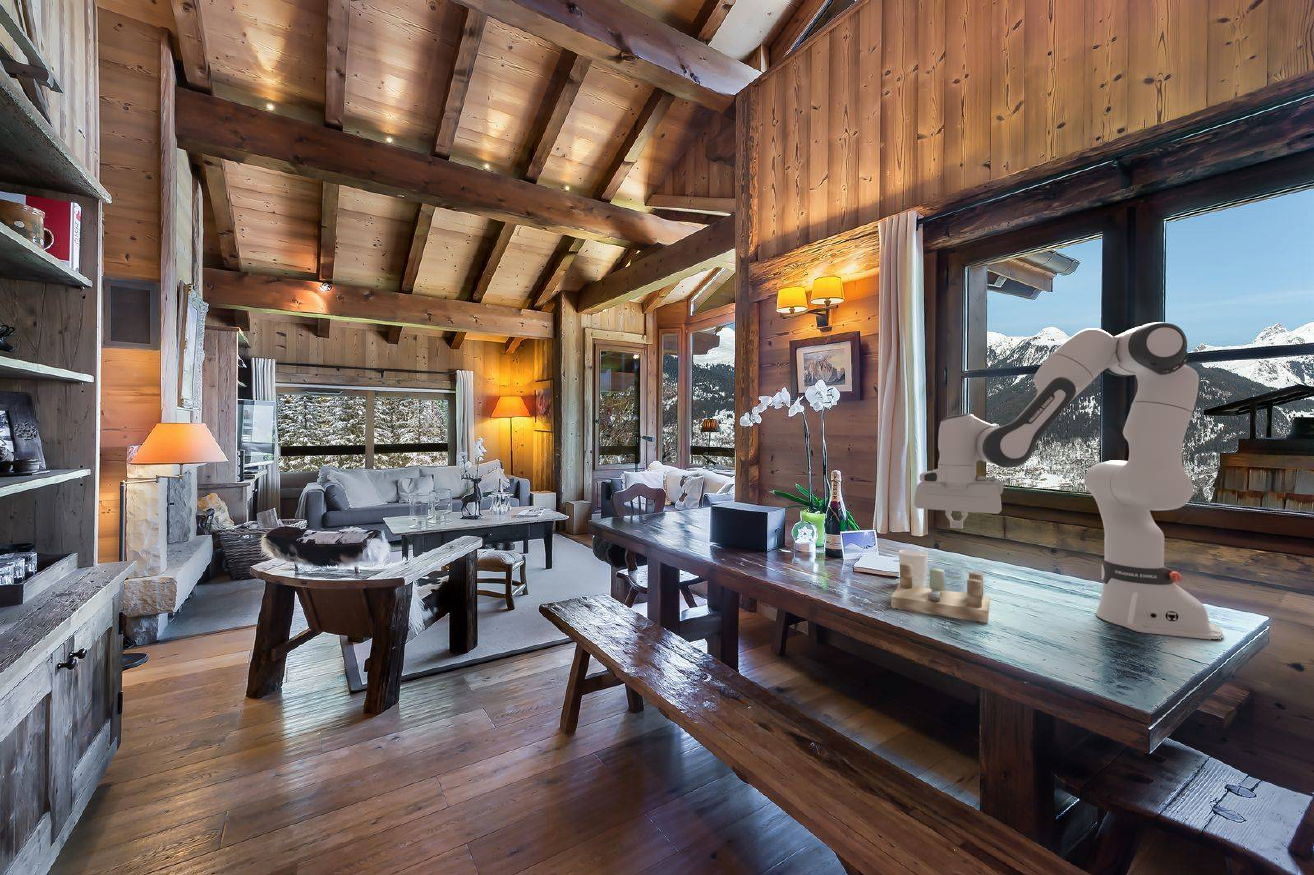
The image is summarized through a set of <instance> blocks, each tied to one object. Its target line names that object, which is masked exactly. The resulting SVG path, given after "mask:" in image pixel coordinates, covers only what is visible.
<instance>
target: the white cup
mask: <svg viewBox="0 0 1314 875" xmlns="http://www.w3.org/2000/svg"><path fill="white" fill-rule="evenodd" d="M928 556H929V555H928V552H926V551H923V550H918V549H917V550H916V549H902V550H899V551H898V557H899V558H898V561H899V562H898V563H899V566H900V564H901V563H907V564H911V565H912V586H917V587H924V588H927V587H926V586H927V584H926V583H927V582H926V581H927V573H928V572H927V571H928V559H929V557H928Z"/></svg>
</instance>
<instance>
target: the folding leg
mask: <svg viewBox="0 0 1314 875" xmlns="http://www.w3.org/2000/svg"><path fill="white" fill-rule="evenodd" d="M945 572H946V571H945V569H942V568H936V567H935V568H934V567H933V568H929V588H930V589H932V591H931V593H930V594H928V599H929V600H932V601H940V595H941V591H942V590H946V589H945V588H946V586H945V585H946V584H945V582H946V581H945V578H946V574H945Z"/></svg>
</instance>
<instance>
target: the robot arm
mask: <svg viewBox="0 0 1314 875" xmlns="http://www.w3.org/2000/svg"><path fill="white" fill-rule="evenodd" d="M1188 359H1189V354H1188V340H1187V336H1186V334H1185V332H1184V331H1183V329H1182V328H1180V327H1179V326H1178V325H1176V324H1174V323H1169V322H1163V321H1162V322H1161V321H1159V322H1151V323H1146V324H1143V325H1142V326H1136V327H1134V328H1131V329H1128V330H1126V331H1125V332H1122V333H1120V334H1118V335H1115V336H1114V335H1111V334H1110V333H1109V332H1108V331H1107V332H1106V331H1105V330H1103V329H1100V328H1091V327H1090V328H1085V329H1082V330H1080V331H1078V332H1077V333H1075V334H1074V335H1073V336H1071V337H1070V338H1069V339H1067V340H1066V341H1065V342H1064V343H1062V344H1061V345H1060V346H1059V347H1057V349H1056V350H1054V351H1053V352H1052V354H1050V355H1049V356H1048V357H1047V358H1046V359H1045V360H1044V362H1043V363H1042V364H1041V365H1040V366H1039V368H1038V369H1037V371H1036V373H1035V374H1034V376H1033V383H1034V387H1035V389H1036V391H1037V393H1036V396H1035V397H1034V398H1033V399H1032V401H1030V402H1029V404H1028V405H1026V407H1025V409H1023V411H1021V412H1020V414H1019V415H1018V416H1017V417H1016V418H1015V419H1014V420H1013V421H1011V422H1010V423H1008V424H1005V425H1002V426H998V425H997V426H996V425H995V424H991V423H989V422H986V421H984V420H981V419H980V418H978V417H976V416H975V415H974V414H972V413H961V414H953V415H948V416H946V417H944V418H943V419H942V420H941V421H940V425H939V428H938V436H937V438H938V439H937V448H938V453H939V458H938V462H937V468H936V469H934V468H933V469H930V470H927V471H923V472H921V474H920V473H919V481H920V482H919V483H918V484H917V485H916V488H915V492H914V502H913V505H914V506H915V508H917V509H921V510H922V509H923V510H935V511H945V517H946V518H947V519H948V521H949V528H950V529H961V530H962V529H963V528H964V522H965V520H966V519H967V517H968V516H969V513H980V514H981V513H982V514H995V515H996V514H997V515H998V514H1000V512H1001V511H1002V497H1001V495H1002V494H1003V491H1004V483H1003V481H1002V480H1001V479H999V478H997V477H996V476H984V475H983V476H980V475H979V476H977V463H978V461H982V462H985V463H988V464H994V465H996V466H998V467H1001V468H1004V469H1005V468H1006V469H1012V468H1016V467H1017V468H1018V467H1020V466H1022V465H1024V464H1025V463H1026V462H1027V461H1028V460H1029V459H1030V458H1031V457H1032V455H1033V452H1034V450H1035V447H1036V444H1037V442H1038V440H1039V439H1040V437H1041V436H1042V434H1043V433H1044V432H1046V430H1047V429H1048V427H1049V426H1050V425H1051V424H1052V423H1053V422H1054V421H1055V420H1056V419H1057V417H1058V416H1060V415H1061V413H1062V412H1063V411H1064V410H1065V408H1066V407H1067V406H1068V405H1069V404H1070V403H1071V402H1072V401H1073V400H1074V399H1075V398H1076V397H1077V396H1078V395H1079V394H1081V392H1082V391H1084V390H1085V389H1086V388H1087V387H1088V386H1089V385H1090V384H1091V383H1092V382H1093V381H1094V380H1095V379H1096V378H1097V377H1098V376H1099V375H1100V374H1101V373H1102V372H1106V373H1108V374H1109V375H1113V376H1117V377H1131V376H1134V375H1135V378H1136V380H1137V381H1136V382H1137V391H1136V394H1135V396H1134V398H1133V402H1132V405H1131V407H1130V409H1129V413H1128V415H1127V419H1126V421H1125V425H1124V426H1123V430H1122V435H1123V437H1124V439H1125V440H1126V441H1127V443H1128V450H1129V451H1128V452H1129V453H1128V460H1117V459H1116V460H1115V459H1114V460H1108V461H1103V462H1098V463H1096V464H1093V465H1092V466H1091V467H1090V468H1088V470H1087V472H1086V474H1085V477H1084V483H1085V486H1086V488H1087V490H1088V491H1089V493H1090V494H1091V495H1092V497H1093V498H1094V500H1095V502H1096V504H1097V507H1098V511H1099V514H1100V517H1101V520H1102V525H1103V526H1102V527H1103V533H1104V558H1103V559H1102V563H1101V580H1102V590H1101V596H1100V599H1099V603H1098V606H1097V609H1096V612H1095V616H1096V617H1098V618H1100V620H1101V619H1102V620H1104V621H1106V622H1108V623H1111V624H1115V625H1118V626H1121V627H1124V628H1127V629H1130V630H1132V631H1135V632H1139V633H1146V634H1155V635H1163V636H1171V637H1172V636H1173V637H1182V638H1192V639H1194V638H1195V639H1200V640H1201V639H1203V640H1211V639H1220V638H1222V636H1223V637H1224V635H1223V631H1222V629H1221V628H1220V627H1219V626H1217V625H1216V624H1214V623H1212V622H1210V619H1209V615H1208V612H1207V609H1206V607H1205V606H1204V604H1203V603H1202V602H1201V601H1199V599H1197V597H1195V596H1193V595H1192V594H1190V593H1189V592H1188V591H1186V590H1185V589H1183V588H1182V587H1180V585H1177V584H1176V583H1175V582H1181V580H1182V579H1183V577H1182V575H1181V574H1180V573H1179V572H1178V571H1175V570H1173V569H1171V568H1169V567H1167V566H1166V565H1165V534H1164V532H1163V530H1162V529H1161V528H1160V527H1159V526H1158V525H1157V524H1156V522H1155V520H1154V518H1153V516H1152V513H1151V511H1170V510H1177V509H1181V508H1182V507H1184V506H1186V504H1188V503H1189V502H1190V500H1191V498H1192V496H1193V493H1194V486H1193V485H1194V484H1193V482H1192V480H1191V478H1190V476H1189V475H1188V473H1186V471H1185V468H1184V466H1183V457H1182V452H1183V451H1182V450H1183V449H1182V448H1183V442H1184V439H1185V436H1186V432H1187V430H1188V426H1189V422H1190V421H1191V418H1192V414H1193V412H1194V409H1195V406H1196V402H1197V397H1198V393H1199V392H1198V391H1199V386H1200V376H1199V374H1198V372H1197V370H1195V369H1194V368H1193V367H1191V366H1189V365H1186V363H1187V361H1188ZM953 512H960V513H961V516H962V518H961V519H960V520H955V519H954V518H953V517H952V513H953ZM1222 639H1223V638H1222ZM1220 640H1221V639H1220Z"/></svg>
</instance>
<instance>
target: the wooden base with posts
mask: <svg viewBox="0 0 1314 875" xmlns="http://www.w3.org/2000/svg"><path fill="white" fill-rule="evenodd" d="M966 581H967V582H966V587H967V588H966V590H967V591H966V592H960V591H955V590H952V591H951V590H947V589H945V590H942V591H941V595H940V601H932V600H929V599H928V594H930V593H931V591H932V589H930V587H917V586H912V565H911V564H907V563H901V564H900V565H899V584H898V585H897V587H896V589H895V590H894V592H893V593H892V594H891V595H890V608H891V607H892V608H891V609H895V608H898V609H897V610H902V609H903V610H904V611H907V612H909V611H910V612H916V613H922V614H927V615H935V616H941V617H947V618H954V619H959V620H965V621H972V622H977V621H979V622H980V623H985V624H988V623H989V618H988V617H989V616H990V605H991V604H990V596H989V595H984V574H983V573H981V572H976V571H975V572H974V571H973V572H972V571H971V572H968V579H966ZM903 610H902V611H903ZM979 622H978V623H979Z"/></svg>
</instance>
